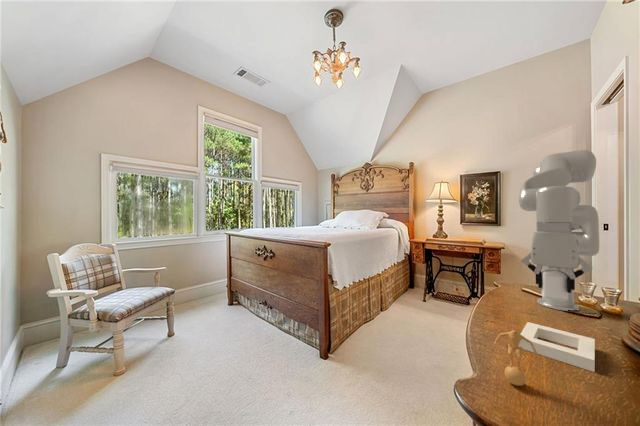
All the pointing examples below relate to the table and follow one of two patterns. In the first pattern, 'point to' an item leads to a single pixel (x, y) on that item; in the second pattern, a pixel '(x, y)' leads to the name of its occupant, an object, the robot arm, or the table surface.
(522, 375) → the figurine
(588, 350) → the cream square frame
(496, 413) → the table surface
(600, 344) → the table surface
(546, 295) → the eye dropper bottle
